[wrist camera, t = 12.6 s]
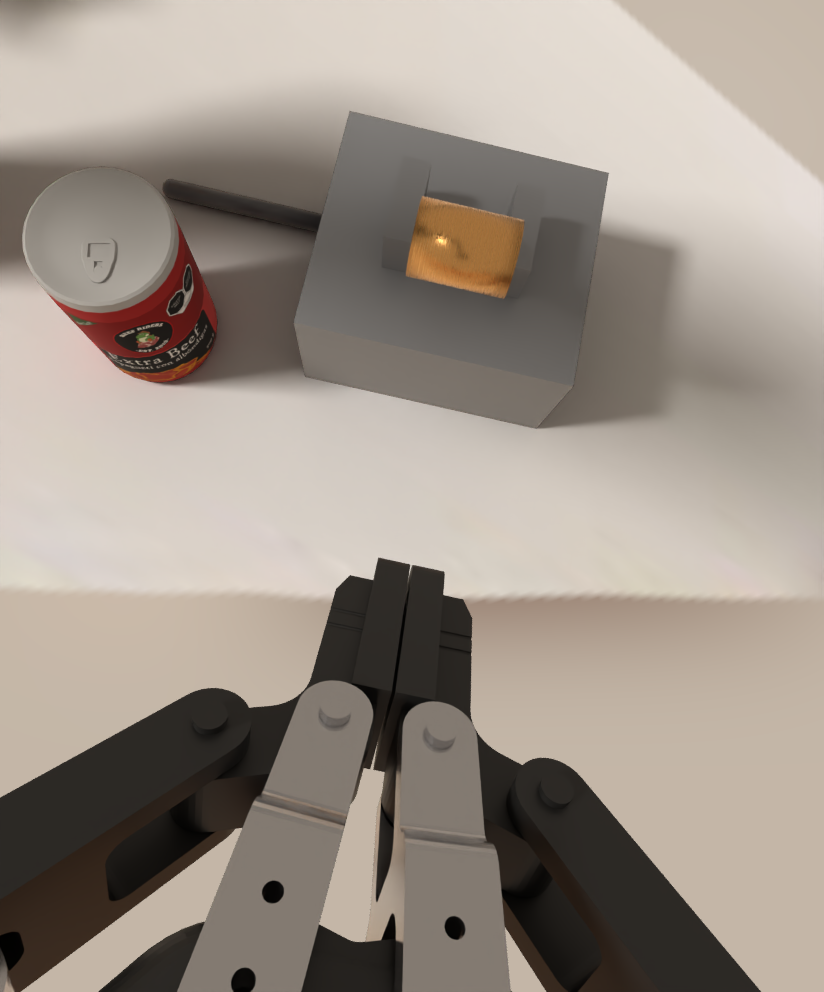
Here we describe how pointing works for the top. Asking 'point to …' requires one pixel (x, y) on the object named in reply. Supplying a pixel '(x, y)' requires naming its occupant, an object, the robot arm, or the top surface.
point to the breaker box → (430, 306)
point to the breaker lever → (464, 247)
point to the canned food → (121, 271)
